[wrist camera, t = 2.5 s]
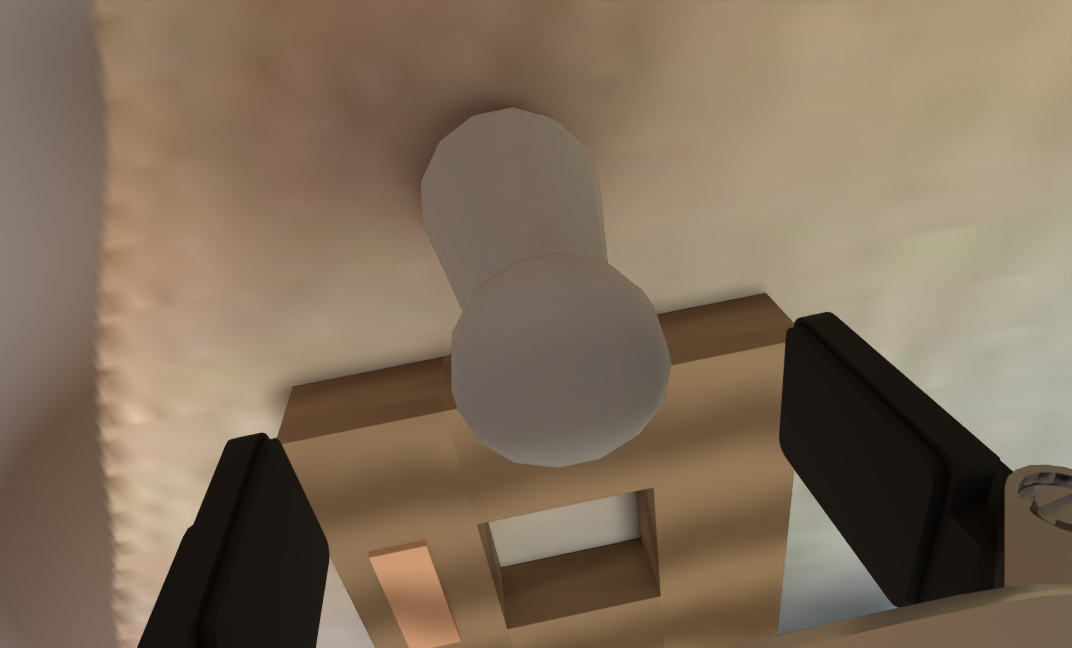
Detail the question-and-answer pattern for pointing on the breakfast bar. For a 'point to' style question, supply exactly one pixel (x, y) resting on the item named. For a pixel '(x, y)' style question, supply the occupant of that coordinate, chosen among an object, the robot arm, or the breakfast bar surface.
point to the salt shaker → (538, 295)
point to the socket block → (560, 504)
